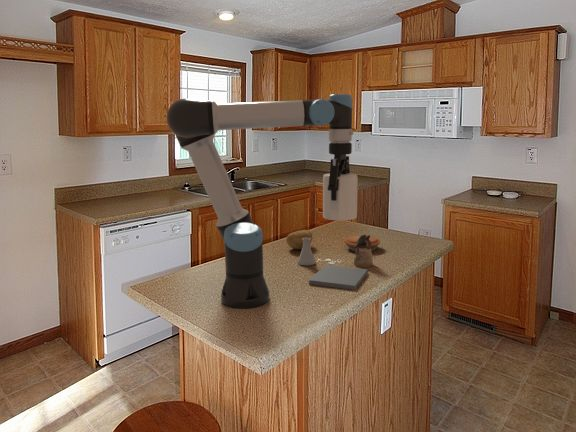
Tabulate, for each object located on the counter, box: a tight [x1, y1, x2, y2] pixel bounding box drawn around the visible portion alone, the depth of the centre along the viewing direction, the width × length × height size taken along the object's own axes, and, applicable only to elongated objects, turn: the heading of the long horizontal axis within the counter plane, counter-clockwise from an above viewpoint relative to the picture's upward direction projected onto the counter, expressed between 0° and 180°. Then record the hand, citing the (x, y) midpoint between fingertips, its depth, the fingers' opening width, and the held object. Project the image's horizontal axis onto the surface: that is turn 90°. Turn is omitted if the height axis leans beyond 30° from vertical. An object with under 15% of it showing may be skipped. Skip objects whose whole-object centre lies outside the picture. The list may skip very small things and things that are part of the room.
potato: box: [286, 229, 313, 250], centre depth 208 cm, size 10×14×8 cm
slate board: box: [308, 264, 369, 291], centre depth 170 cm, size 18×16×2 cm
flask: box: [297, 238, 317, 267], centre depth 187 cm, size 7×7×10 cm
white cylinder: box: [322, 172, 359, 221], centre depth 164 cm, size 11×11×14 cm
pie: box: [343, 234, 381, 252], centre depth 207 cm, size 15×16×5 cm
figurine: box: [353, 233, 374, 268], centre depth 185 cm, size 7×7×12 cm
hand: (339, 206), depth 165 cm, fingers closed on white cylinder, 11 cm apart
